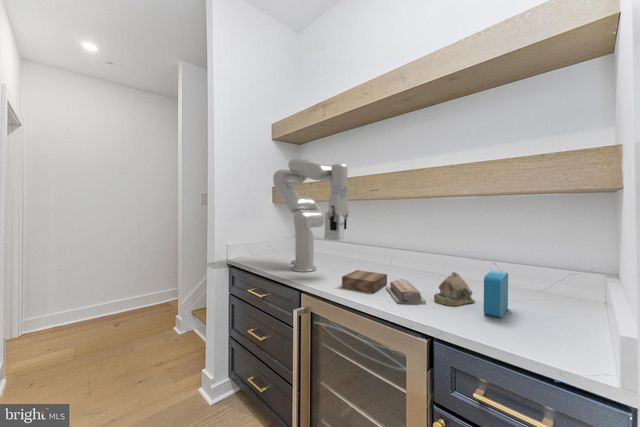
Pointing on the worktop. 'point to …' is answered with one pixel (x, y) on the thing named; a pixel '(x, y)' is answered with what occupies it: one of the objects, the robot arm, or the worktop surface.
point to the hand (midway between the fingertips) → (338, 229)
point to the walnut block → (364, 281)
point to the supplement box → (334, 234)
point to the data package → (495, 293)
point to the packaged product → (405, 292)
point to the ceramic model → (454, 291)
